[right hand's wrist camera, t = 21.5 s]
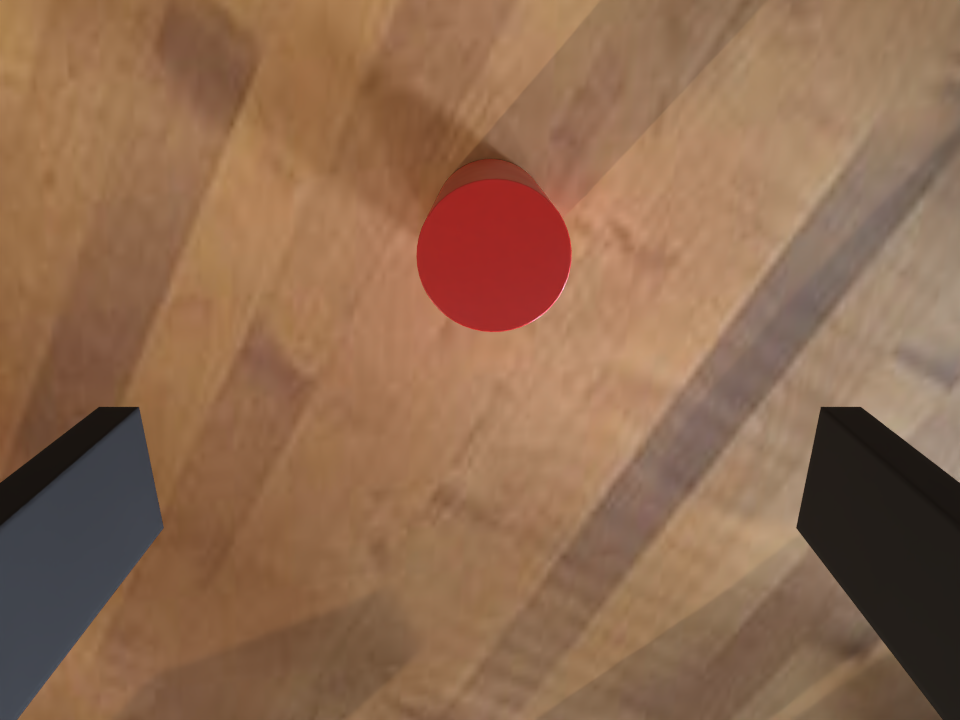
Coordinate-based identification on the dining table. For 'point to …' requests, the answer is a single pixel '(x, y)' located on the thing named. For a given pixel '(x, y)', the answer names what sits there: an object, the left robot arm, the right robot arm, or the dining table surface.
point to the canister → (493, 248)
